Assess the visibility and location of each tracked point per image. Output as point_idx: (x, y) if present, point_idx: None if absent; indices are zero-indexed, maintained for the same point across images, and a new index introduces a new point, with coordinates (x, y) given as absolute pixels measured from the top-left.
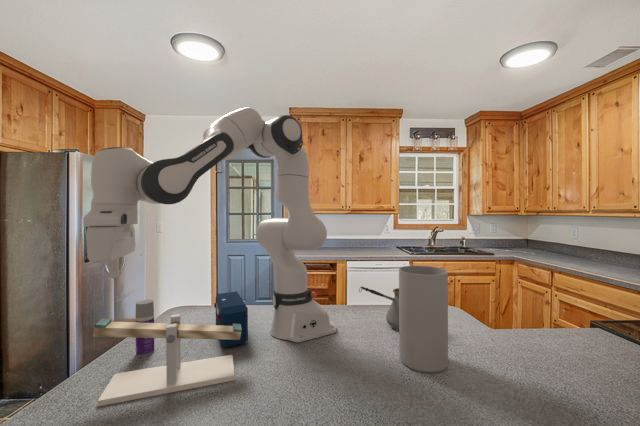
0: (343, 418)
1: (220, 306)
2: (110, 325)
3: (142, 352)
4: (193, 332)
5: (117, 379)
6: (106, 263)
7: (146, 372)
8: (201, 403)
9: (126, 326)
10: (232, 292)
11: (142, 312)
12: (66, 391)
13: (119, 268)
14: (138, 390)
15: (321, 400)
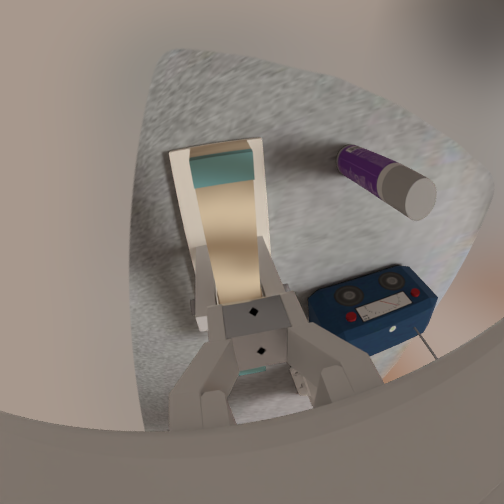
0: (139, 387)
1: (366, 329)
2: (216, 189)
3: (339, 162)
4: None
5: None
6: (169, 398)
7: None
8: (160, 293)
9: (218, 228)
10: (423, 327)
11: (390, 191)
12: (234, 69)
13: (277, 360)
14: (188, 207)
15: (162, 381)
